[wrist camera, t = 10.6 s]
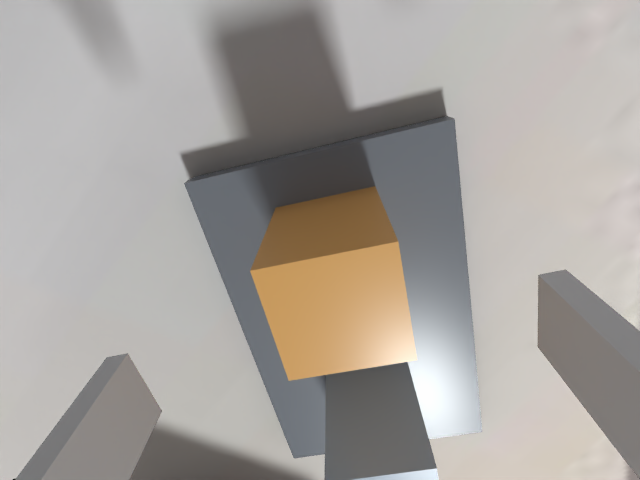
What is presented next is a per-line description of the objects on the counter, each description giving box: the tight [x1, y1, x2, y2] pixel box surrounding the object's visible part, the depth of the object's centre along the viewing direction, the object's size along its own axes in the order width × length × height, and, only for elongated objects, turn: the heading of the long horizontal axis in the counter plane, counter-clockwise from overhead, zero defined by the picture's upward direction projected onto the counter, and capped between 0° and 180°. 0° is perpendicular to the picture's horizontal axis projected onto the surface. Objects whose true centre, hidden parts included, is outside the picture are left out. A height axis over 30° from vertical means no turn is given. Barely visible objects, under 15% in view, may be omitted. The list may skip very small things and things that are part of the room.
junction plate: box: [184, 116, 482, 480], centre depth 20 cm, size 22×14×8 cm, turn 14°
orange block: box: [250, 186, 417, 381], centre depth 17 cm, size 5×5×7 cm
